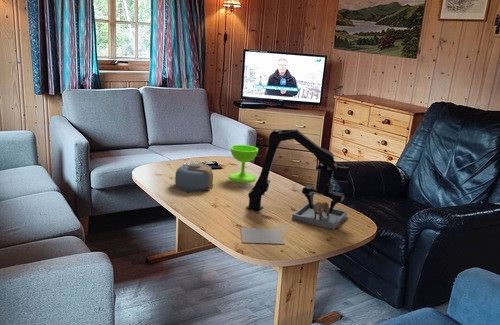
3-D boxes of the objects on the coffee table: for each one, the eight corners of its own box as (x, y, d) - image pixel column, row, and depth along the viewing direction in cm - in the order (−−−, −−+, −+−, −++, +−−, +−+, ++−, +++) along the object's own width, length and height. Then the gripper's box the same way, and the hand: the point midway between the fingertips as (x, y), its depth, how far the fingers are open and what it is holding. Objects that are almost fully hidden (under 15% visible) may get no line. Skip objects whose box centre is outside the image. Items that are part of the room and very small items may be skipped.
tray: (333, 230, 196) (334, 225, 195) (291, 219, 204) (292, 214, 204) (346, 216, 213) (347, 211, 212) (307, 206, 222) (308, 202, 221)
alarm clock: (217, 191, 234) (218, 169, 231) (179, 193, 227) (180, 170, 223) (206, 180, 251) (208, 159, 248) (171, 181, 244) (172, 160, 241)
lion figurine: (321, 223, 201) (323, 204, 198) (310, 220, 203) (312, 202, 201) (330, 213, 214) (332, 195, 211) (319, 211, 216) (322, 193, 213)
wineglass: (225, 174, 264) (227, 144, 259) (251, 174, 269) (253, 145, 264) (232, 183, 249) (234, 151, 244) (259, 182, 254) (262, 151, 249)
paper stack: (239, 220, 199) (239, 219, 199) (294, 222, 201) (294, 221, 201) (242, 243, 177) (242, 242, 176) (304, 246, 179) (304, 244, 179)
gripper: (349, 179, 206) (345, 210, 210) (311, 171, 215) (308, 201, 219) (342, 185, 197) (338, 217, 201) (303, 176, 205) (299, 208, 209)
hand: (320, 211), depth 208 cm, fingers open, 9 cm apart
